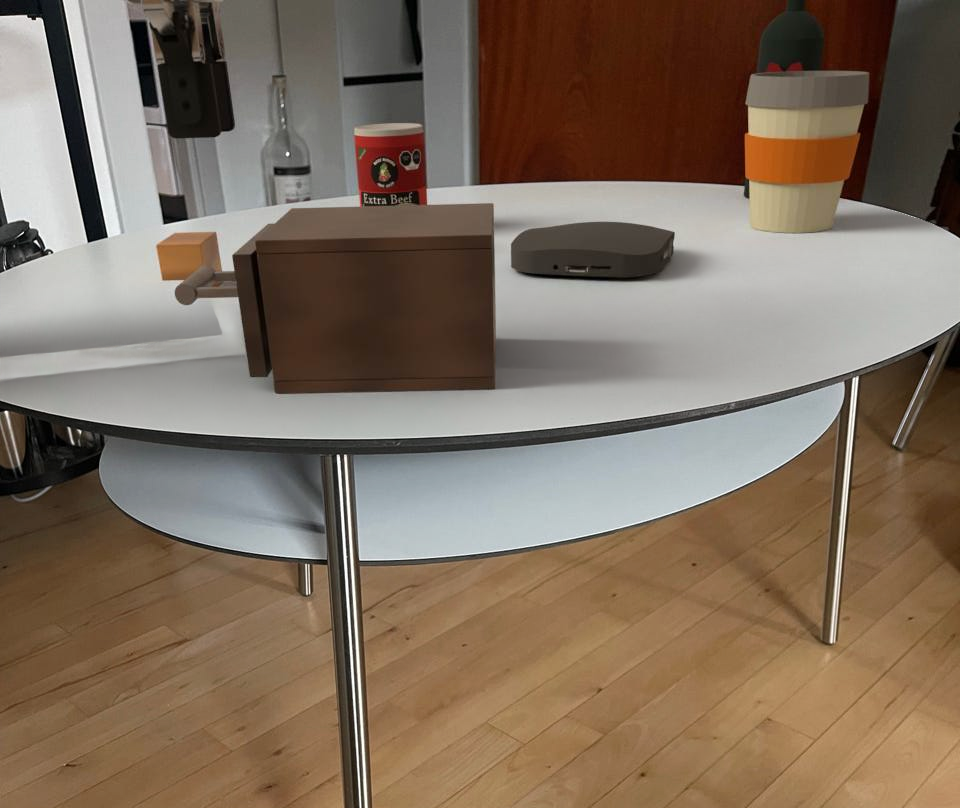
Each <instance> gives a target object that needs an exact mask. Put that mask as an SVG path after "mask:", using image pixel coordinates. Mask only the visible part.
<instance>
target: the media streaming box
mask: <svg viewBox="0 0 960 808" xmlns="http://www.w3.org/2000/svg"><path fill="white" fill-rule="evenodd" d="M675 234H676V233H675V231H674V230H673V231H672V230H668V229H665V228H661V227H656V226H651V225H645V224H639V223H633V222H632V223H631V222H621V221H586V222H585V221H584V222H574V223H565V224H561V225H560V224H559V225H553V226H552V225H551V226H545V227H534V228H533V227H532V228H528V229H525V230H523V231H521V232H520V233H519V234H517V235H516V236H515V238H514V239H513V240H512V241H511V243H510V267H511V269H512V270H515V271H517V272H521V273H527V274H534V275H547V276H563V277H564V276H565V277H587V278H591V277H592V278H620V279H621V278H622V279H627V278H636V277H646V276H650V275H654V274H657V273H659V272H661V271H662V270H663V269H664V268H665V266H666V265H667V264H668V263H669V262H670V260H671V259H672V257H673V256H674V249H675V246H674V241H675V236H676V235H675Z"/></svg>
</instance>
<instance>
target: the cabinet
mask: <svg viewBox="0 0 960 808" xmlns="http://www.w3.org/2000/svg"><path fill="white" fill-rule="evenodd" d="M273 224H274V223H273ZM255 245H256V252H257V260H258V267H259V275H260V282H261V290H262V297H263V305H264V312H265V320H266V327H267V335H268V342H269V350H270V357H271V365H272V371H271V373H272V378H273V379H272V381H273V386H274V393H275V394H300V393H301V394H303V393H304V394H306V393H307V394H309V393H350V392H351V393H352V392H353V393H354V392H355V393H357V392H359V393H360V392H405V391H455V390H456V391H458V390H460V391H461V390H462V391H463V390H494V389H496V363H497V362H496V361H497V360H496V358H497V357H496V356H497V355H496V354H497V315H496V314H497V312H496V309H497V308H496V259H495V254H496V253H495V251H496V250H495V204H494V203H493V202H485V203H483V202H482V203H481V202H480V203H446V204H445V203H444V204H443V203H441V204H427V205H402V206H363V207H360V206H333V207H332V206H331V207H328V206H326V207H291V208H290V209H289V210H288V211H287V212H286V213H284V214H283V215H282V217H280V218H279V219H278V220H277V221H276V222H275V224H274V225H273V226H271V227H270V228H269V229H268V230H267V231H266V232H265V233H264V234H263V235H261V236H260V237H259V238H258V239H257V240H256V241H255Z"/></svg>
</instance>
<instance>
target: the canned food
mask: <svg viewBox="0 0 960 808" xmlns="http://www.w3.org/2000/svg"><path fill="white" fill-rule="evenodd" d="M353 129H354V133H353V135H354V136H353V137H354V151H355V163H356V173H357V174H356V176H357V185H358V196H359V197H358V198H359V207H363V206H396V205H399V204H402V203H413V204H417V205H428V191H427V189H428V188H427V170H426V168H427V167H426V145H425V131H424V125H423V124H421V123H414V122H413V123H412V122H411V123H410V122H388V123H373V124H365V125H364V124H363V125H359V126H355V127H354V128H353Z"/></svg>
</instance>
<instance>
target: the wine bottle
mask: <svg viewBox="0 0 960 808" xmlns="http://www.w3.org/2000/svg"><path fill="white" fill-rule="evenodd" d="M806 5H807V0H786V7H785V11H784V12H782V13H780V14H778V15H777V16H776V17H775V18H773V20H771V21H770V22H769V23H768V25H767V26H766V28H765V29H764V31H763V32H762V34H761V37H760V38H759V46H758V47H759V49H758V58H757V67H756V74H757V73H769V72H789V71H822V63H823V55H824V46H825V39H826V38H825V34H824V33H825V32H824V29H823V26H821V23H820V22H819V20H818V19H817V18H815V16H813V14H811V13H810V12H808V11H806ZM743 197H745V199H750V192H749V179H747V178H746V177H745V179H744V189H743Z"/></svg>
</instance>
